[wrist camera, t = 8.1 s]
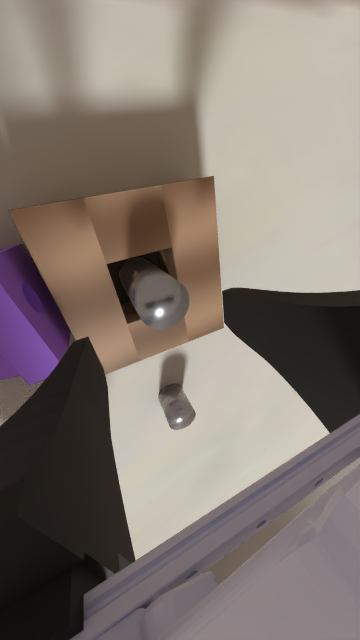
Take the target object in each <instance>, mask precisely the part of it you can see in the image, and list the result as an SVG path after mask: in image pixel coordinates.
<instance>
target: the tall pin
mask: <svg viewBox="0 0 360 640" xmlns="http://www.w3.org/2000/svg"><path fill="white" fill-rule="evenodd" d="M119 277H120V281H121V284H122V285H123V287H124V289H125V291H126V293H127V294H128V296H129V298H130V300H131V302H132V304H133V305H134V307H135V309H136V311H137V313H138V314H139V316H140V318H141V320H142V321H143V322H144V323H145V324H146V325H147V326H149V327H151V328H154V329H160V330H161V329H168V328H171V327H173V326H175V325H176V324H178V323H179V322H180V321H181V320H182V319H183V318H184V316H185V315H186V313H187V311H188V308H189V294H188V292H187V290H186V288H185V287H184V286H183V285H182V284H181V283H180V282H179V281H177V280H176V279H174V278H173V277H171V276H170V275H168V274H167V273H165V272H164V271H162V270H161V269H159V268H158V267H156V266H155V265H154V264H152V263H151V262H149V261H148V260H146V259H144V258H140V257H134V258H131V259H129V260H127V261H126V262H125V263H124V264H123V265H122V267H121V269H120V273H119Z"/></svg>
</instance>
